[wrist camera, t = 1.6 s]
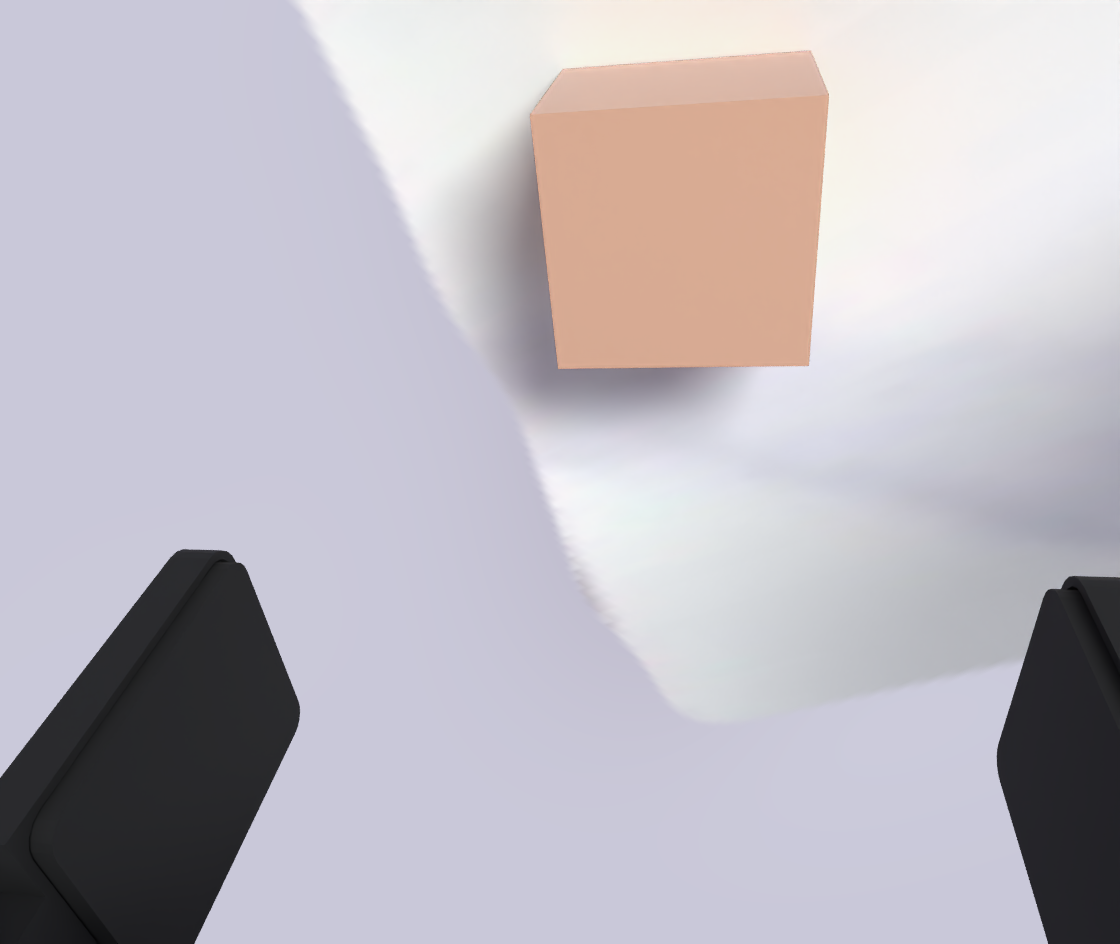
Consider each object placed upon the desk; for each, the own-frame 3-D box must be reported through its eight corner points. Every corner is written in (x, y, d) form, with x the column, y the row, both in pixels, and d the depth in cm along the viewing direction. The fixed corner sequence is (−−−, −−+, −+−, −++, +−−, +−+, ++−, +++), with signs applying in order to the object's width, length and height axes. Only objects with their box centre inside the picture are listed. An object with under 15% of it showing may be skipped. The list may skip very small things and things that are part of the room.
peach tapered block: (811, 50, 23) (828, 95, 19) (796, 286, 27) (808, 366, 23) (562, 69, 24) (529, 114, 20) (582, 293, 28) (558, 368, 24)
